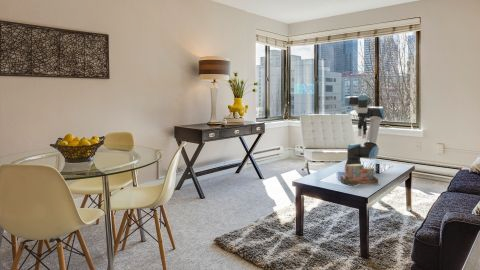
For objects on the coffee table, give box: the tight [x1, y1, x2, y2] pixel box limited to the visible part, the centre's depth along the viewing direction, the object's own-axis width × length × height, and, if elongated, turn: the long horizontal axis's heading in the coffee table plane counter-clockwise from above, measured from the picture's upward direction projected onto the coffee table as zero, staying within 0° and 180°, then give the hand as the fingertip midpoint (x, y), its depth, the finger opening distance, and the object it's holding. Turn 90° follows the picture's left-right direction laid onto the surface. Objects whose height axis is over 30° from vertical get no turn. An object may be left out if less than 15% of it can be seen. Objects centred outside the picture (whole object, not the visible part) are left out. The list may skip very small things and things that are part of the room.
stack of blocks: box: [344, 163, 375, 181], centre depth 271 cm, size 21×6×12 cm, turn 98°
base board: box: [340, 174, 379, 185], centre depth 271 cm, size 12×26×4 cm, turn 85°
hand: (362, 137), depth 292 cm, fingers open, 13 cm apart
